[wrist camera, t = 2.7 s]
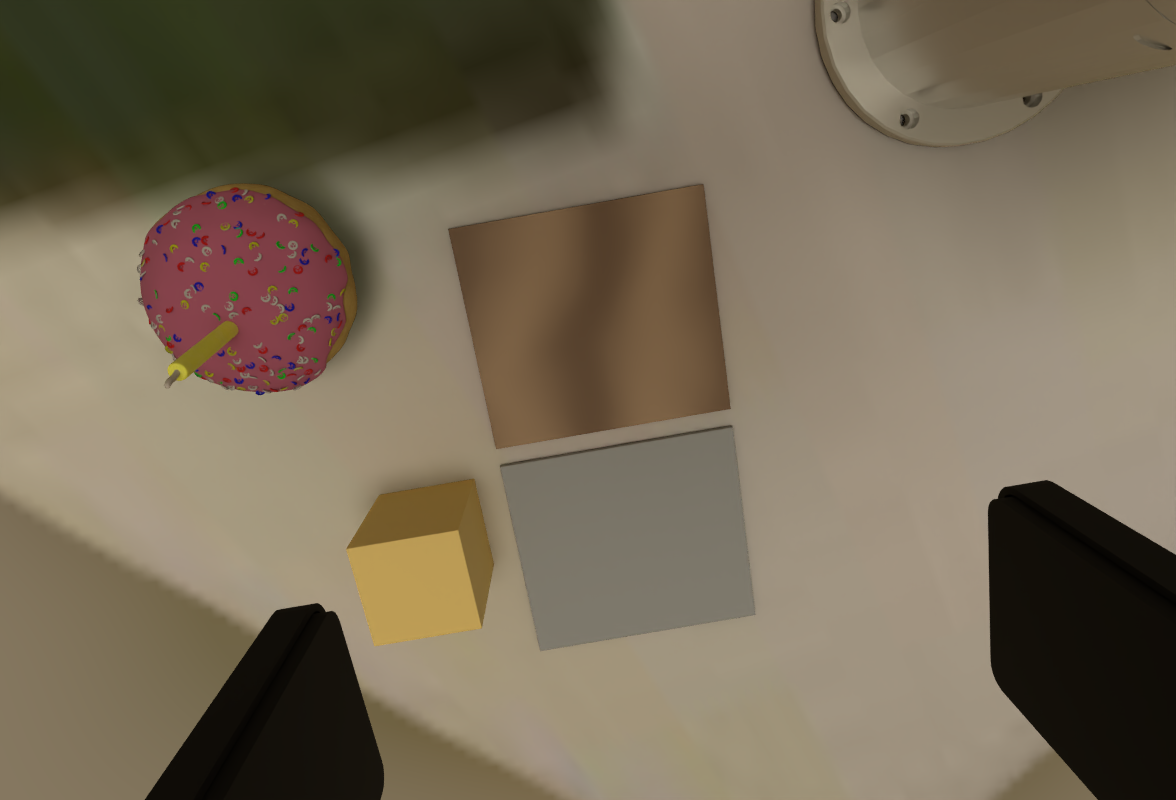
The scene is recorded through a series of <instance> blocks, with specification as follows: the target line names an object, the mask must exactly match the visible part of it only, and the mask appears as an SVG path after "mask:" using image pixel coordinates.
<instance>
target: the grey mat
mask: <svg viewBox="0 0 1176 800" xmlns="http://www.w3.org/2000/svg"><path fill="white" fill-rule="evenodd" d="M500 468H501V473H502V478H503V482H504V487H505V491H506V496H507V501H508V505H509V510H510V514H511V519H512V523H513V528H514V533H515V537H516V542H517V546H518V551H519V556H520V560H521V565H522V569H523V574H524V579H525V583H526V588H527V592H528V597H529V601H530V606H531V611H532V615H533V620H534V624H535V629H536V634H537V638H538V643H539V647H540V651H544V650H550V649H556V648H561V647H567V646H573V645H579V644H585V643H591V642H597V641H603V640H609V639H615V638H621V637H627V636H633V635H639V634H645V633H651V632H657V631H663V630H669V629H675V628H681V627H686V626H692V625H698V624H704V623H710V622H716V621H722V620H728V619H734V618H740V617H746V616H752V615H755V607H754V599H753V590H752V582H751V574H750V566H749V557H748V549H747V541H746V533H745V524H744V516H743V508H742V499H741V491H740V483H739V475H738V466H737V458H736V450H735V441H734V433H733V427H732V426H726V427H720V428H714V429H708V430H702V431H696V432H691V433H685V434H679V435H673V436H667V437H662V438H656V439H650V440H644V441H638V442H632V443H627V444H621V445H615V446H609V447H603V448H598V449H592V450H586V451H580V452H574V453H568V454H563V455H557V456H551V457H545V458H539V459H534V460H528V461H522V462H516V463H510V464H504V465H501V466H500Z"/></svg>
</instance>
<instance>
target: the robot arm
mask: <svg viewBox="0 0 1176 800" xmlns="http://www.w3.org/2000/svg"><path fill="white" fill-rule="evenodd" d="M831 11H834V12H836V13H837V15H838V21H837V22H836V23H835V22H833V21H832V19H831V16H830V13H831ZM815 28H816V33H817V38H818V42H819V47H820V52H821V57H822V59H823V61H824V64H825V66H826V69H827V71H828V73H829V76H830V78H831V81H832V83H833V84H834V86H835V87H836V89H837V90H838V92H839V93H840V95H841V96H842V98H843V99H844V101H845V102H846V104H847V105H848V106H849V107H850V108H851V109H852V110H853V111H854V112H855V113H856V114H857V115H858V116H860V117H861V118H862V119H863V120H864V121H865V122H866V123H867V124H869V125H871V126H872V127H874V128H875V129H877V130H879V131H880V132H882V133H883V134H885V135H887V136H889V137H892V138H895V139H898V140H900V141H903V142H906V143H909V144H913V145H921V146H929V147H949V146H961V145H966V144H972V143H977V142H983V141H986V140H989V139H991V138H994V137H996V136H999V135H1002V134H1004V133H1007V132H1010V131H1011V130H1013V129H1015V128H1016V127H1018V126H1020V125H1021V124H1023V123H1025V122H1026V121H1028V120H1030V119H1031V118H1033V117H1035V116H1036V115H1037V114H1038V113H1039V112H1040V111H1042V110H1043V109H1044V108H1045V107H1046V106H1047V105H1049V104H1050V103H1051V102H1052V101H1053V100H1054V99H1056V98H1057V97H1058V95H1059V94H1060V93H1061V92H1062V91H1063V89H1064V88H1068V87H1072V86H1077V85H1082V84H1087V83H1092V82H1096V81H1101V80H1106V79H1111V78H1116V77H1120V76H1125V75H1130V74H1135V73H1139V72H1144V71H1149V70H1154V69H1159V68H1163V67H1168V66H1173V65H1176V0H815ZM1023 97H1025V101H1024V102H1023ZM900 115H903V116H904V117H905V124H904V125H903V126H901V124H900V121H899V120H900ZM988 539H989V596H990V652H991V667H992V671H993V675H994V677H995V680H996V682H997V684H998V685H999V687H1000V688H1001V690H1002V691H1003V692H1004V694H1005V695H1006V696H1007V697H1008V698H1009V699H1010V700H1011V702H1012V703H1013V704H1014V705H1015V706H1016V707H1017V708H1018V709H1019V711H1020V712H1021V713H1022V714H1023V715H1024V716H1025V717H1026V719H1027V720H1028V721H1029V722H1030V723H1031V724H1032V725H1033V727H1034V728H1035V729H1036V730H1037V731H1038V732H1039V733H1040V734H1041V736H1042V737H1043V738H1044V739H1045V740H1046V741H1047V742H1048V744H1049V745H1050V746H1051V747H1052V748H1053V749H1054V750H1055V752H1056V753H1057V754H1058V755H1059V756H1060V757H1061V758H1062V759H1063V760H1064V762H1065V763H1066V764H1067V765H1068V766H1069V767H1070V768H1071V770H1072V771H1073V772H1074V773H1075V774H1076V775H1077V776H1078V778H1079V779H1080V780H1081V781H1082V782H1083V783H1084V784H1085V786H1086V787H1087V788H1088V789H1089V790H1090V791H1091V792H1092V794H1093V795H1094V796H1095V797H1096V798H1097V799H1098V800H1176V555H1175V554H1173V553H1172V552H1170V551H1168V550H1167V549H1165V548H1163V547H1162V546H1160V545H1158V544H1156V543H1155V542H1153V541H1151V540H1150V539H1148V538H1146V537H1145V536H1143V535H1141V534H1140V533H1138V532H1136V531H1134V530H1133V529H1131V528H1129V527H1128V526H1126V525H1124V524H1123V523H1121V522H1119V521H1118V520H1116V519H1114V518H1113V517H1111V516H1109V515H1107V514H1106V513H1104V512H1102V511H1101V510H1099V509H1097V508H1096V507H1094V506H1092V505H1091V504H1089V503H1087V502H1086V501H1084V500H1082V499H1080V498H1079V497H1077V496H1075V495H1074V494H1072V493H1070V492H1069V491H1067V490H1065V489H1064V488H1062V487H1060V486H1058V485H1057V484H1055V483H1053V482H1051V481H1048V480H1045V481H1038V482H1033V483H1027V484H1021V485H1015V486H1009V487H1004V488H1003V489H1002V490H1001V491H1000V493H999V496H998V499H994V500H992V501H991V502H990V504H989V507H988ZM383 787H384V769H383V764H382V760H381V756H380V753H379V750H378V747H377V743H376V740H375V737H374V733H373V730H372V727H371V723H370V720H369V717H368V713H367V710H366V707H365V703H364V700H363V697H362V693H361V690H360V687H359V684H358V680H357V677H356V674H355V670H354V667H353V664H352V660H351V657H350V654H349V650H348V647H347V644H346V641H345V637H344V634H343V631H342V627H341V624H340V621H339V618H338V616H337V615H336V613H335V612H333V611H329V612H325V610H324V608H323V607H322V605H320V604H318V603H315V604H310V605H304V606H298V607H292V608H286V609H280V610H276V611H275V612H274V613H273V615H272V616H271V617H270V619H269V620H268V622H267V623H266V625H265V626H264V628H263V629H262V630H261V632H260V633H259V635H258V636H257V638H256V639H255V641H254V642H253V644H252V645H251V646H250V648H249V649H248V651H247V652H246V654H245V655H244V657H243V658H242V660H241V661H240V662H239V664H238V665H237V667H236V668H235V670H234V671H233V673H232V674H231V675H230V677H229V679H228V680H227V681H226V683H225V684H224V686H223V687H222V688H221V690H220V691H219V693H218V695H217V696H216V697H215V699H214V700H213V702H212V703H211V704H210V706H209V707H208V709H207V710H206V712H205V713H204V715H203V716H202V718H201V719H200V721H199V722H198V723H197V725H196V726H195V728H194V729H193V731H192V732H191V733H190V735H189V737H188V738H187V739H186V741H185V742H184V744H183V745H182V747H181V748H180V749H179V751H178V752H177V754H176V755H175V757H174V758H173V760H172V761H171V762H170V764H169V765H168V767H167V768H166V770H165V771H164V773H163V774H162V776H161V777H160V778H159V780H158V781H157V783H156V784H155V786H154V787H153V789H152V790H151V792H150V793H149V794H148V796H147V797H146V799H145V800H380V799H381V795H382V792H383Z"/></svg>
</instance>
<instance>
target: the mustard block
mask: <svg viewBox="0 0 1176 800" xmlns="http://www.w3.org/2000/svg"><path fill="white" fill-rule="evenodd" d="M346 550H347V553H348V557H349V560H350V564H351V567H352V571H353V574H354V578H355V581H356V584H357V588H358V591H359V595H360V598H361V602H362V605H363V609H364V612H365V615H366V619H367V622H368V626H369V629H370V633H371V636H372V640H373V643H374V646H379V645H385V644H391V643H397V642H403V641H409V640H415V639H421V638H427V637H433V636H439V635H445V634H451V633H457V632H463V631H469V630H475V629H481V628H482V624H483V619H484V614H485V608H486V603H487V598H488V593H489V587H490V582H491V577H492V571H493V566H494V563H493V558H492V554H491V550H490V545H489V541H488V537H487V532H486V528H485V523H484V519H483V515H482V510H481V506H480V502H479V497H478V493H477V488H476V484H475V480H474V479H469V480H463V481H458V482H452V483H446V484H440V485H434V486H428V487H422V488H417V489H411V490H405V491H399V492H393V493H387V494H382V495H379V496H378V498H377V499H376V501H375V503H374V504H373V506H372V508H371V509H370V511H369V513H368V514H367V516H366V518H365V519H364V521H363V522H362V524H361V526H360V527H359V529H358V531H357V532H356V534H355V536H354V537H353V539H352V540H351V542H350V544H349V545H348V547H347V549H346Z"/></svg>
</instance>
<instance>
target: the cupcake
mask: <svg viewBox="0 0 1176 800" xmlns="http://www.w3.org/2000/svg"><path fill="white" fill-rule="evenodd" d="M141 256H142V261H141V265H138V266H137V271H138V273H140V285H141V294H142V298H139V299H138V303H139V304H140V305H143V306H144V307H145V310H146V313H147V315H148V318H149V324H151V327H152V329H154V331H155V333H156V334H157V336H158V337H159V339H160V340H161V342H162V343H163V344H164V345H165V350H166V351H167V352H168V353H170V354H172V357H173V360H174V362H173V363H171V364H170V365H169V367H168V374H169V376H170V377H169V378H168V379H167V380H166V381H165V384H164V386H165V388H170V386H171V384H172V383H173V382H174V381H176V380H178V381H181V380H184V379H186V378H187V377H188V376H189V375H191V374H192V373H193V372H194V373H195V375H196V376H198V377H200V378H202V379H204V380H208V381H209V382H211V383H216V384H219V385H221V386H222V387H223V388H224V389H226V390H229V389H230V390H235V389H237V390H243V391H253V392H256V394H257V395H263V394H264V393H265V392H266V393H271V392H279V391H286V390H292V389H293V390H298V389H299V388H301V386H303V385H305V384H307V383H309V382H311V381H312V380H314V379H315V378H317V377H318V376H319V375H321V374H322V373H323V371H324V370H325V368H326V363H328V362H329V361H330V360H331V359H332V358H333V357H334V356H335V354H336V353H337V352H338V351H339V350H340V349H341V348H342V346H343V345H344V343H345V341H346V339H347V336H348V333H349V331H350V328H351V326H352V324H353V322H354V319H355V316H356V312H357V295H356V288H355V283H354V278H353V275H352V271H351V264H350V257H349V254H348V252H347V250H346V248H345V246H344V245H343V244H342V242H341V241H340V240H339V238H338V237H337V236H336V235H335V233H334V232H333V231H332V230H331V228H330V227H329V226H328V224H327V223H326V222H325V221H324V219H323V218H322V217H321V215H320V214H319V213H318V212H317V211H316V210H315V209H314V208H312V207H311V206H310V205H308V204H306V203H304V202H302V201H300V200H298V199H296V198H294V197H291V196H289V195H287V194H286V193H284V192H282V191H279V190H277V189H275V188H272V187H269V186H265V185H260V184H229V185H223V186H219V187H215V188H212V189H209V190H207V191H205V192H203V193H201V194H199V195H197V196H194V197H191V198H188V199H186V200H184V201H183V202H181V203H179V204H178V205H176V206H175V207H174V208H172V209H171V210H170V211H169V212H168V213H167V214H165V215H164V216H163V217H162V218H161V219H159V220H158V221H157V222H156V223H155V225H154V226H153V227H152V228H151V229H150V231H149V232H148V234H147V236H146V238H145V243H144V248H143V250H142V251H141V252H140V254H139V257H141ZM140 267H141V268H140ZM139 269H140V271H139ZM141 300H143V301H141ZM140 301H141V302H143V304H142V303H141V302H140ZM168 350H169V351H168ZM175 358H176V360H175ZM225 387H226V388H225ZM296 388H297V389H296ZM260 392H261V393H260Z"/></svg>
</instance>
